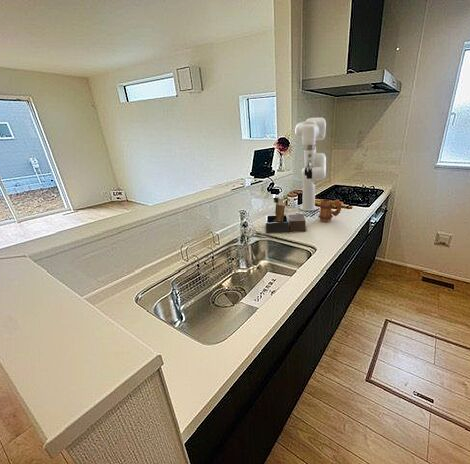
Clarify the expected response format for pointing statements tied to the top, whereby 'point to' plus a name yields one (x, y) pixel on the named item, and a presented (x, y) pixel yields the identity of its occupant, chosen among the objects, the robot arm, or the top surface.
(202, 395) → the top surface
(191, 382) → the top surface
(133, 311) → the top surface
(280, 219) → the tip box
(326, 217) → the mug
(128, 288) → the top surface
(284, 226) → the basket
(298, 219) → the stand
